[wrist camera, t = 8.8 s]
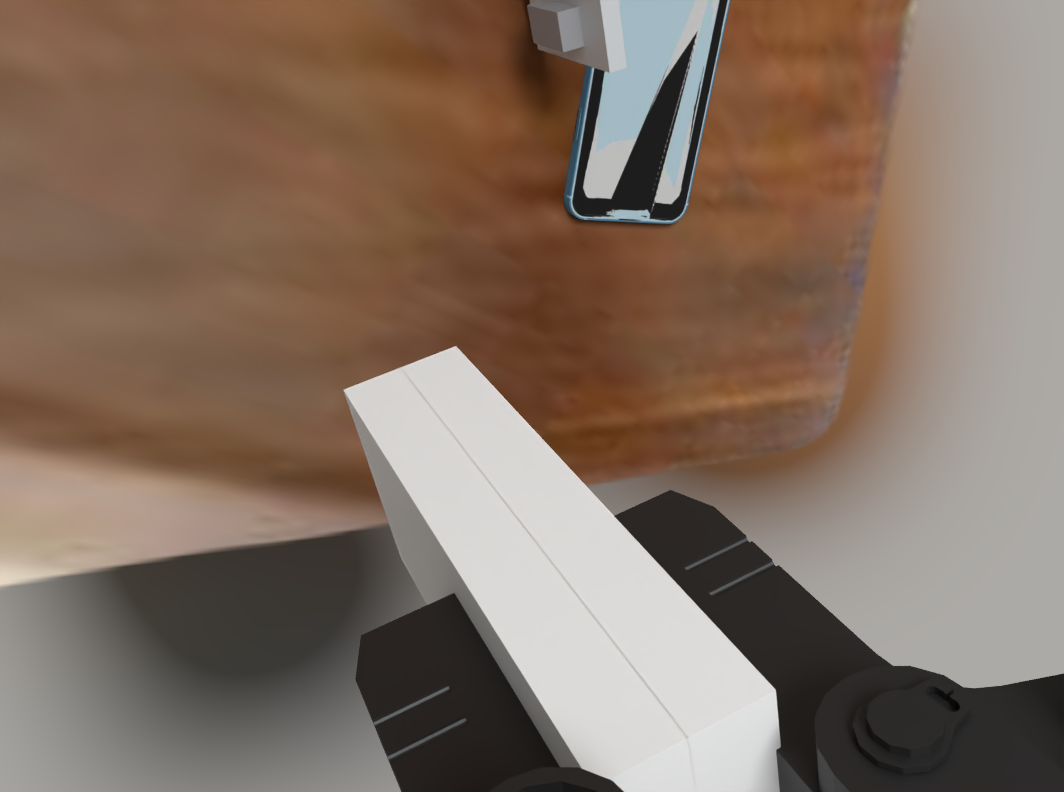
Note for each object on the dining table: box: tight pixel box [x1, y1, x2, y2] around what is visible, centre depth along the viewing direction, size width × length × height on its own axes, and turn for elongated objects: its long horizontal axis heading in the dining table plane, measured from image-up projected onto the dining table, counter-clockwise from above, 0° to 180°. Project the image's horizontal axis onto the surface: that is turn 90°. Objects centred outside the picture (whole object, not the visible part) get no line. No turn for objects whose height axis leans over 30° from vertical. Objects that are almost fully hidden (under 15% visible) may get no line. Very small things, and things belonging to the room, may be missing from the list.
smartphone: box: [564, 0, 731, 224], centre depth 50 cm, size 7×1×15 cm
